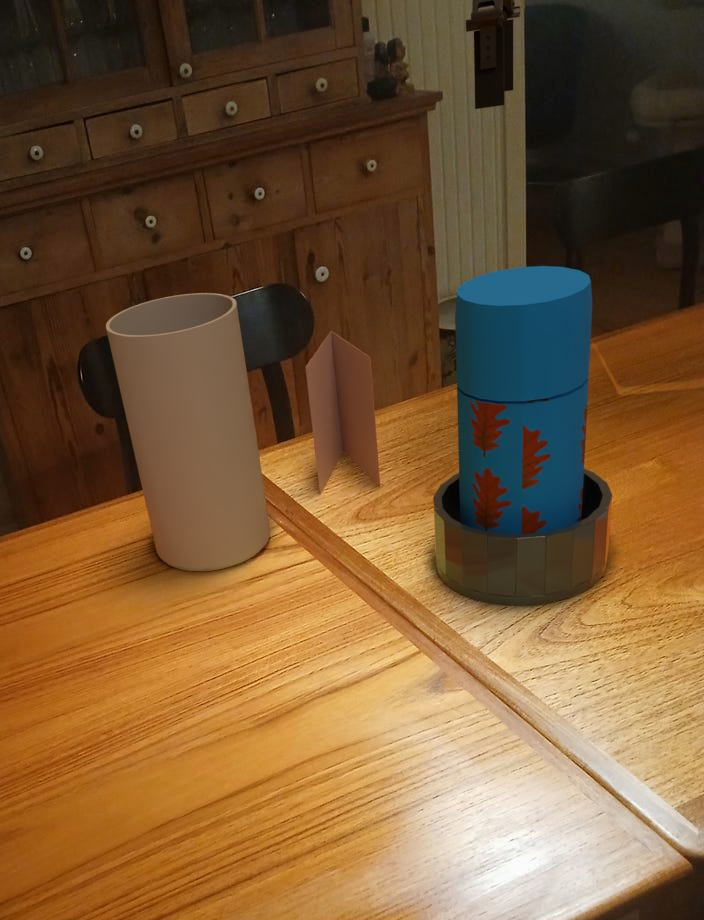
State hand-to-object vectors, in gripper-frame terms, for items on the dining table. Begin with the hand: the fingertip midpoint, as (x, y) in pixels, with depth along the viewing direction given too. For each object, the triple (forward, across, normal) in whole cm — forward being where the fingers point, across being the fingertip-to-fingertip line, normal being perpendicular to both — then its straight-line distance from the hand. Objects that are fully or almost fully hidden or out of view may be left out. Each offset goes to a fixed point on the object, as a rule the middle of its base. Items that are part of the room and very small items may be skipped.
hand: (495, 99), depth 101 cm
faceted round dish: (+37, +31, +4) cm, 48 cm away
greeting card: (+36, +11, -15) cm, 41 cm away
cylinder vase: (+37, +29, -28) cm, 54 cm away
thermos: (+36, +31, +4) cm, 48 cm away
